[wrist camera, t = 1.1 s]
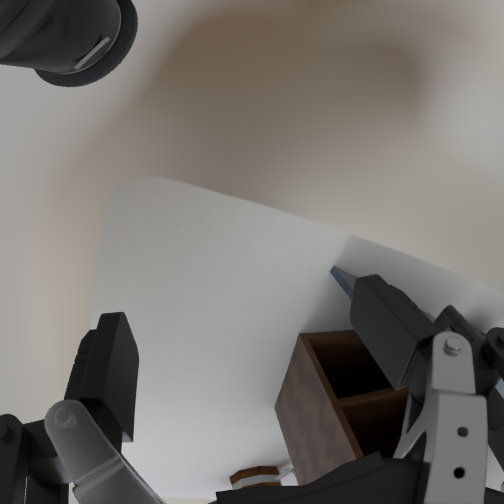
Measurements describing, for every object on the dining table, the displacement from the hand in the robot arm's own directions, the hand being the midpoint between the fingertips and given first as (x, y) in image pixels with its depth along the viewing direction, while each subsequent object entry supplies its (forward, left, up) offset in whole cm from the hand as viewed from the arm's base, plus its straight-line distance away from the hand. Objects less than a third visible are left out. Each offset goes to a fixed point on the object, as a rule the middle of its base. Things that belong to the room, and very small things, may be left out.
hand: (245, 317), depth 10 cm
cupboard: (+30, +27, -22) cm, 46 cm away
